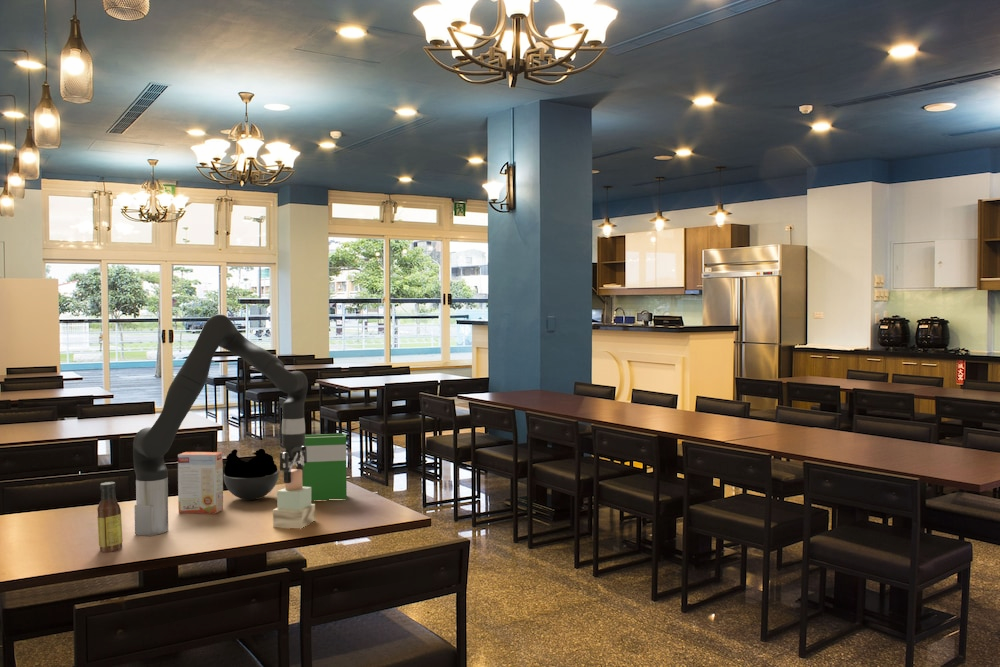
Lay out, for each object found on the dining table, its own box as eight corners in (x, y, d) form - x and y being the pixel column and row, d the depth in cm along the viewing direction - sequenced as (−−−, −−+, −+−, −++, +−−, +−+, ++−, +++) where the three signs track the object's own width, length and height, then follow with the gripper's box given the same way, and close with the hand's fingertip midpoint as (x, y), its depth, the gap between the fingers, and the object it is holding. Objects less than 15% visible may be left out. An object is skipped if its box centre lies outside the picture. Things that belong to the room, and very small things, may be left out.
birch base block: (301, 529, 247) (301, 511, 246) (273, 527, 249) (273, 509, 249) (315, 521, 256) (315, 503, 256) (288, 519, 258) (287, 502, 258)
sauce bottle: (126, 546, 228) (125, 480, 228) (116, 552, 222) (115, 485, 221) (104, 546, 228) (103, 480, 228) (93, 553, 222) (92, 485, 221)
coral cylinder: (297, 491, 249) (297, 472, 249) (282, 490, 250) (282, 472, 250) (305, 487, 254) (305, 469, 254) (290, 486, 256) (290, 468, 255)
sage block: (299, 510, 247) (299, 492, 247) (277, 509, 249) (277, 490, 249) (311, 504, 255) (311, 487, 255) (290, 503, 257) (289, 485, 257)
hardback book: (298, 502, 282) (297, 438, 281) (298, 498, 289) (298, 435, 288) (346, 500, 285) (346, 436, 285) (346, 495, 293) (345, 433, 292)
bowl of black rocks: (290, 497, 290) (290, 448, 289) (246, 508, 273) (246, 456, 272) (256, 490, 301) (255, 443, 300) (212, 501, 284) (211, 451, 283)
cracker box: (224, 509, 271) (223, 451, 271) (216, 514, 265) (215, 454, 265) (186, 508, 273) (185, 450, 272) (177, 513, 267) (177, 453, 266)
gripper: (293, 435, 244) (293, 485, 244) (313, 428, 258) (313, 476, 258) (272, 434, 246) (272, 484, 246) (293, 428, 260) (293, 475, 260)
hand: (293, 480), depth 252 cm, fingers open, 8 cm apart
